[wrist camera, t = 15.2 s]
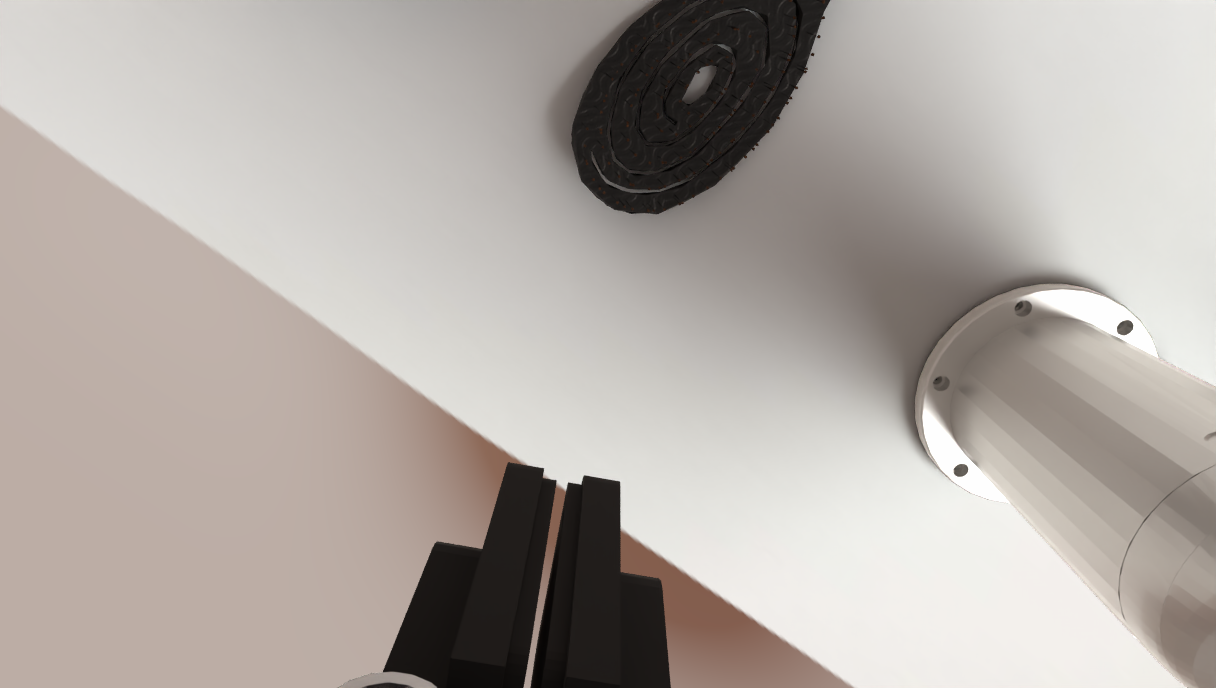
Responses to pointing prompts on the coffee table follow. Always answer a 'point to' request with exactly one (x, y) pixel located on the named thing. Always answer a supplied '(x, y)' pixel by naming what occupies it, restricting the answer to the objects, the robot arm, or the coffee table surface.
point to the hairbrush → (626, 142)
